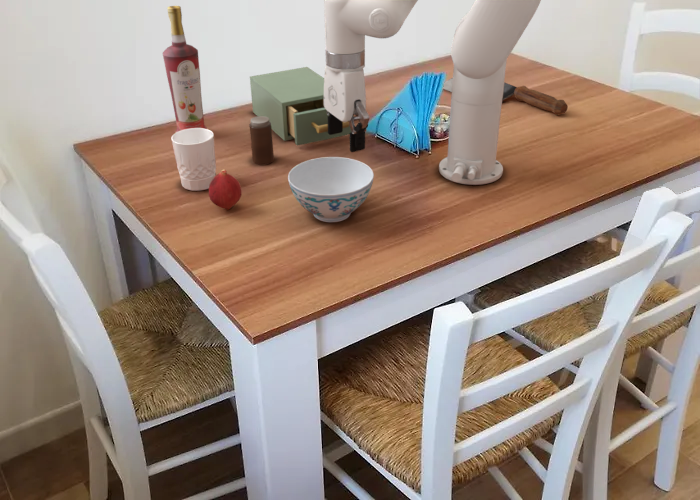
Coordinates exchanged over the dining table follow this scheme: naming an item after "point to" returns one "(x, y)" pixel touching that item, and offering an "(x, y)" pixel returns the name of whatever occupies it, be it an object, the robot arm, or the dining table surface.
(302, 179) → the chinaware
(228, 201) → the onion
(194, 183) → the white cup
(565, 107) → the meat cleaver
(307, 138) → the drawer
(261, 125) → the pepper mill
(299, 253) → the dining table surface
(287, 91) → the cabinet
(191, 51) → the liquor
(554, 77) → the dining table surface
